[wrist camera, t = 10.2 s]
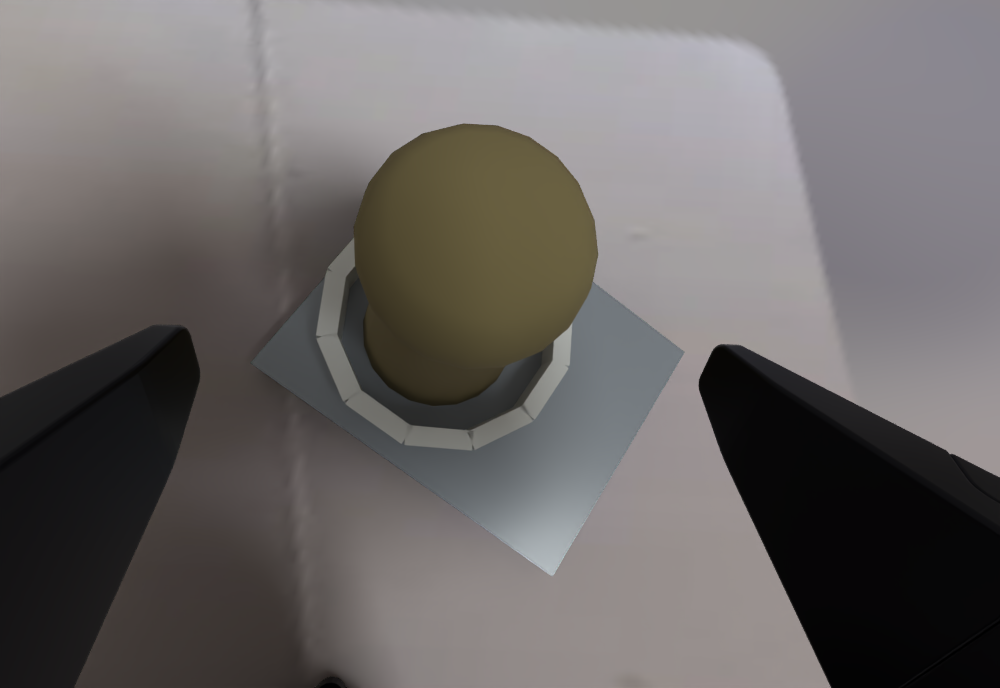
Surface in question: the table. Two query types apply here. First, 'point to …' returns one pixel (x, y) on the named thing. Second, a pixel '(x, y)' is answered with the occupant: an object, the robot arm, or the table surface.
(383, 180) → the olive pawn
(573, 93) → the table surface
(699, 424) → the table surface
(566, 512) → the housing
